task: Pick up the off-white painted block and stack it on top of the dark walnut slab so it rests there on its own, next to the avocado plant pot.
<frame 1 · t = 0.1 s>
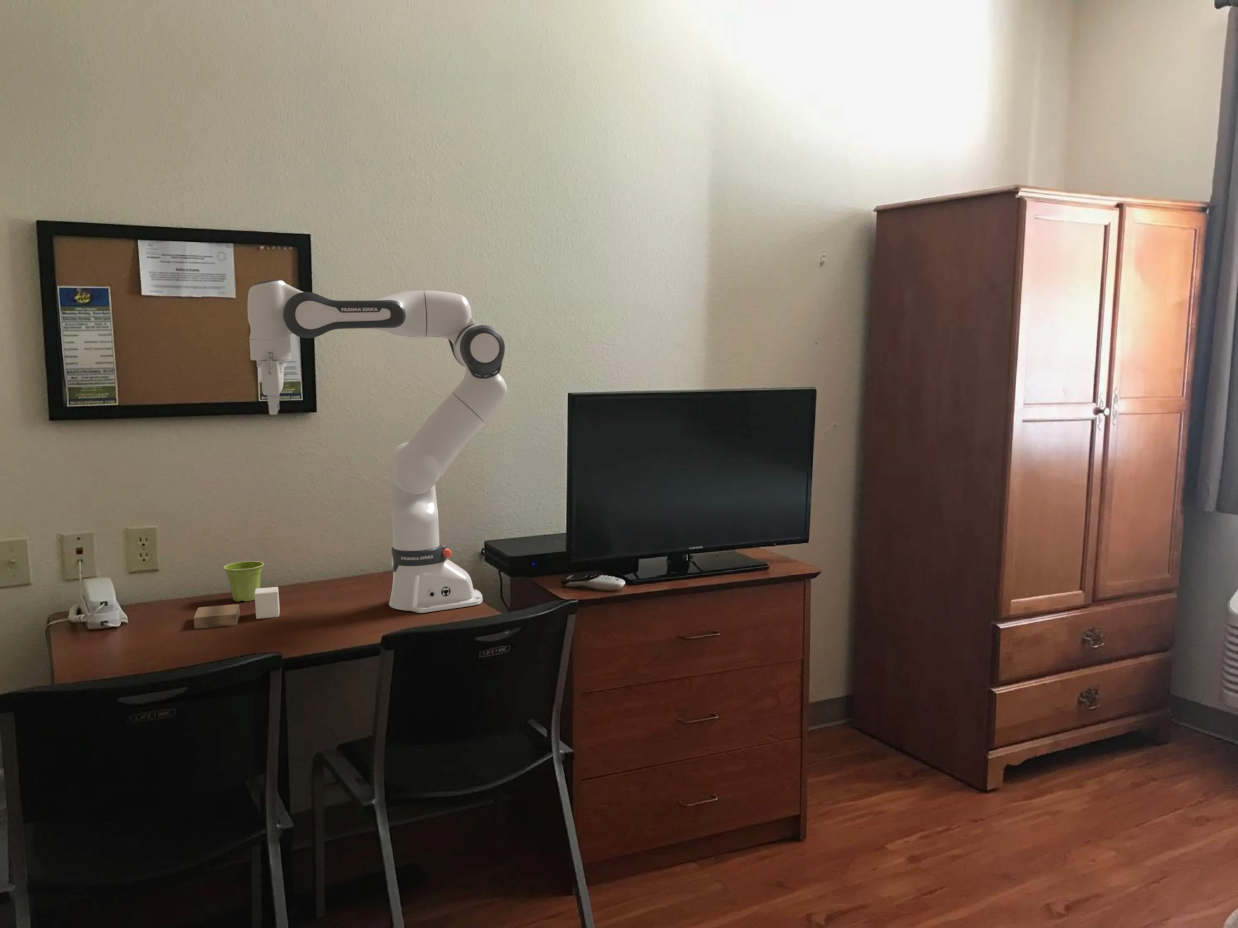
hand: (274, 412, 233), 48 cm above the table, tool pointing down, fingers open, 8 cm apart
white block: (268, 614, 241), on the table
walnut slab: (217, 623, 236), on the table
plant pot: (246, 599, 255), on the table
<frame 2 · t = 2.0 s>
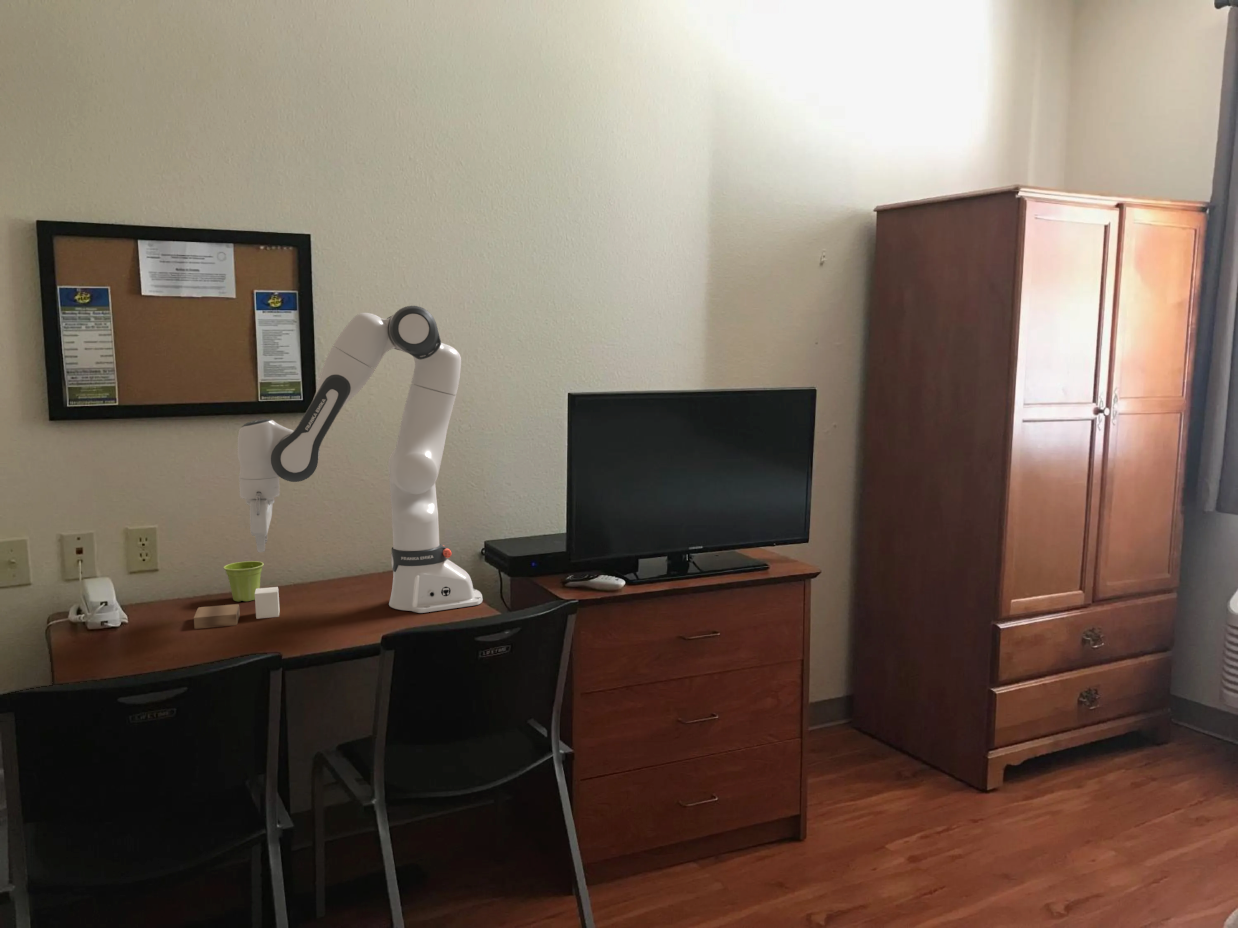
hand: (262, 547, 238), 16 cm above the table, tool pointing down, fingers open, 8 cm apart
nothing on the table moved.
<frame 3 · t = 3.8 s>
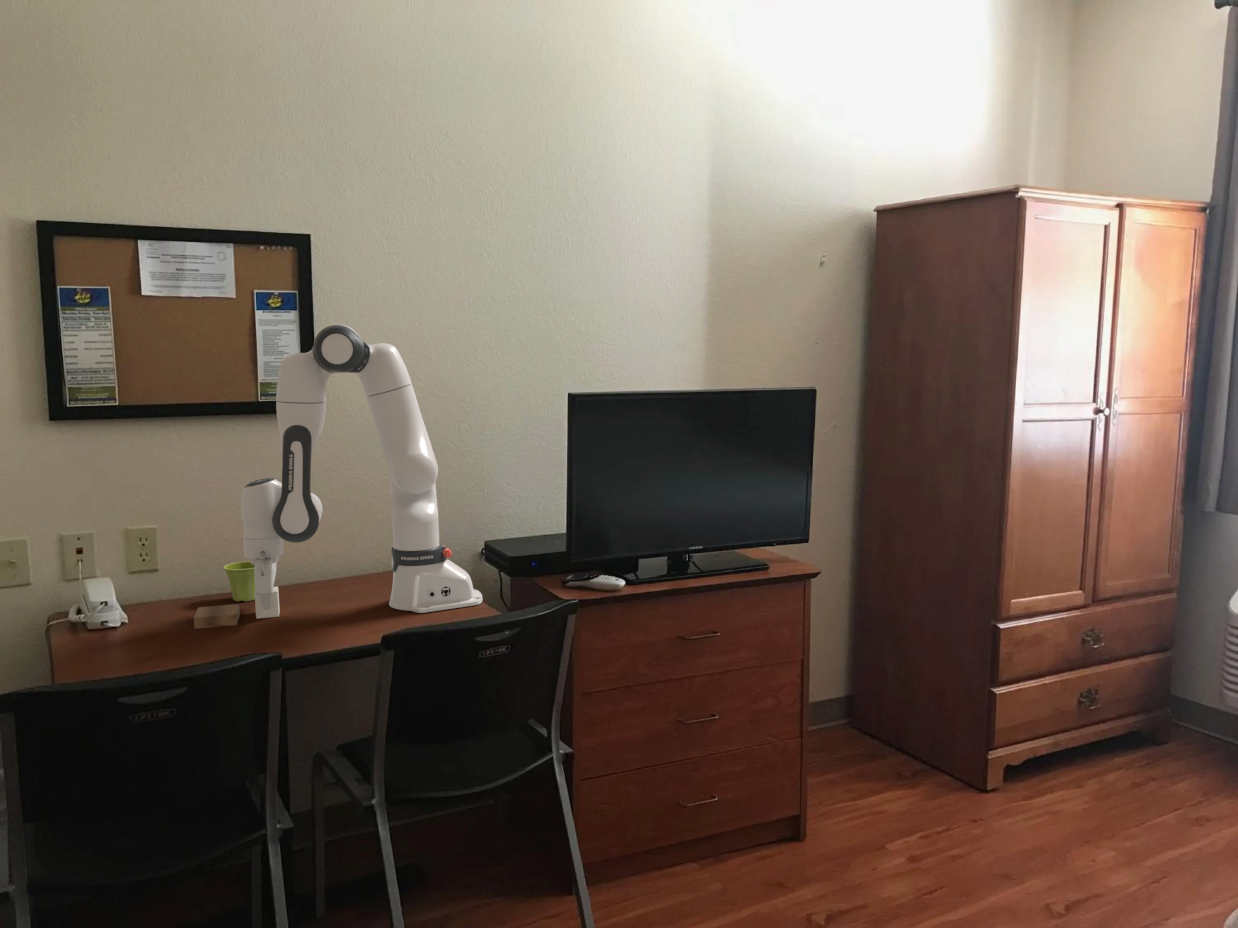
hand: (267, 605, 240), 2 cm above the table, tool pointing down, fingers closed on white block, 5 cm apart
white block: (268, 614, 241), on the table, touching gripper
everything else where it was.
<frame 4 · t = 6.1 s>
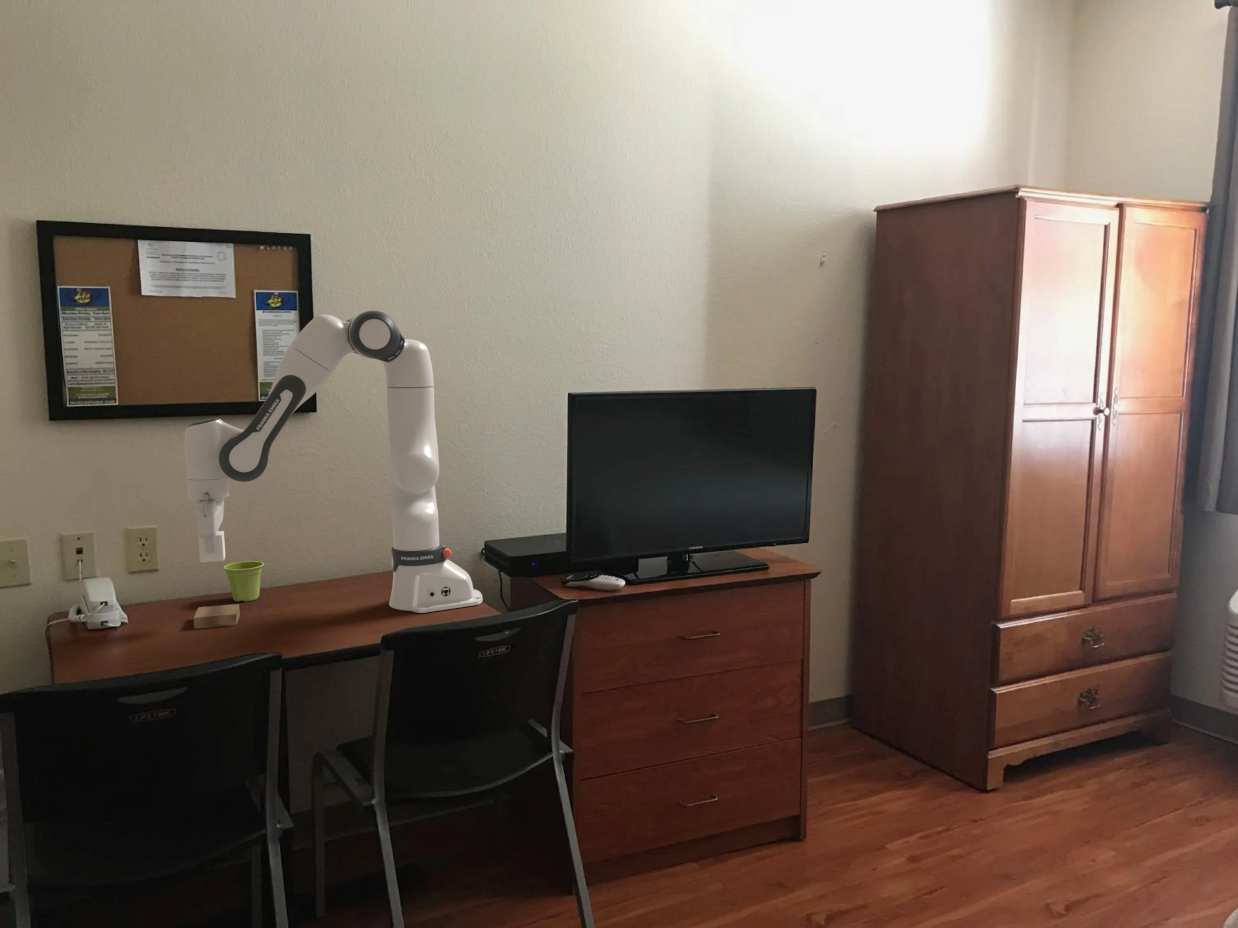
hand: (212, 549, 233), 17 cm above the table, tool pointing down, fingers closed on white block, 5 cm apart
white block: (213, 559, 234), point 15 cm above the table, touching gripper
everything else where it was.
when the fingers open (6 cm above the table, at t = 8.4 s): white block drops 1 cm, resting on walnut slab.
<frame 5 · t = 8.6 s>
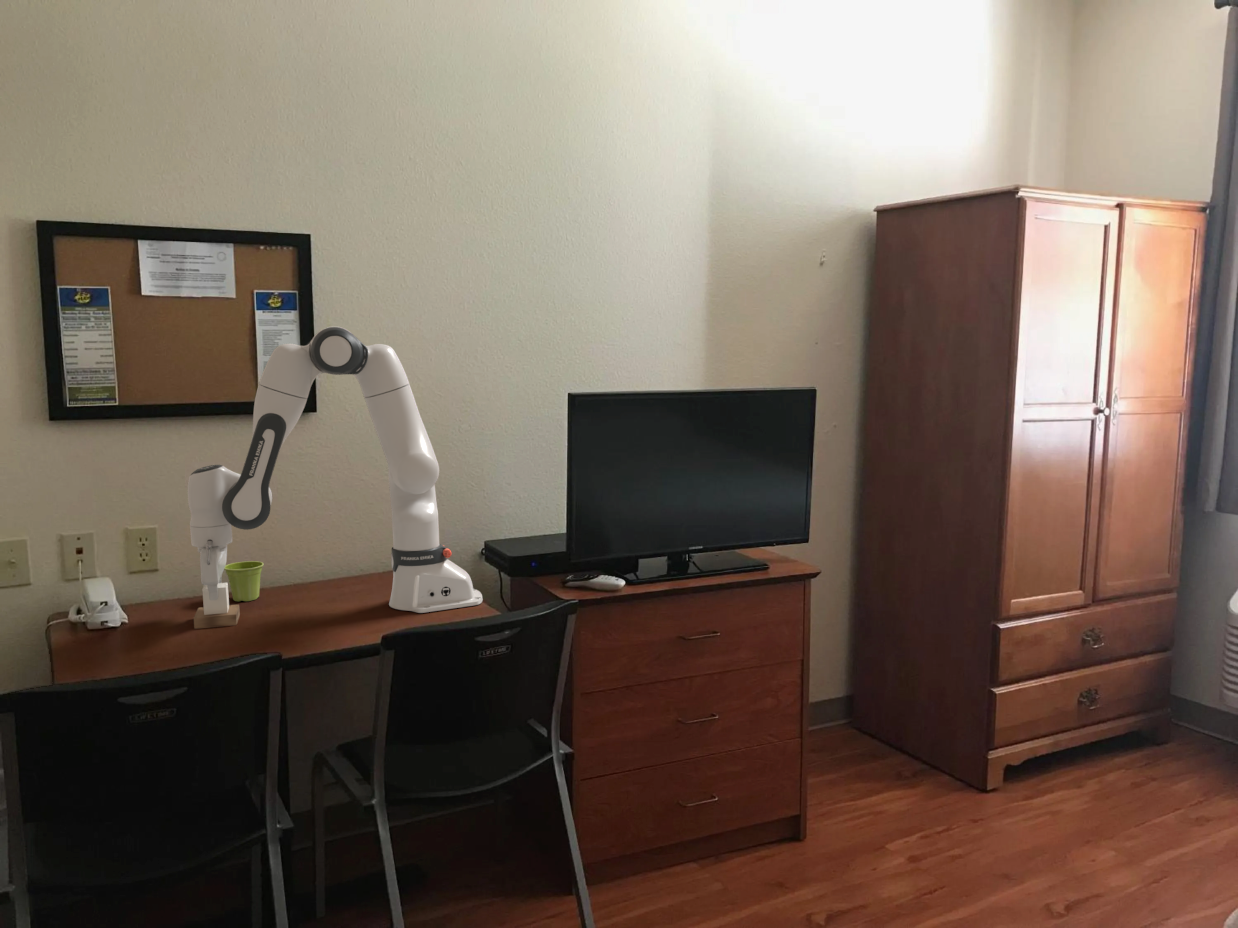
hand: (215, 594, 235), 6 cm above the table, tool pointing down, fingers open, 7 cm apart
white block: (216, 611, 235), point 2 cm above the table, touching walnut slab
walnut slab: (217, 623, 236), on the table, touching white block
everything else where it was.
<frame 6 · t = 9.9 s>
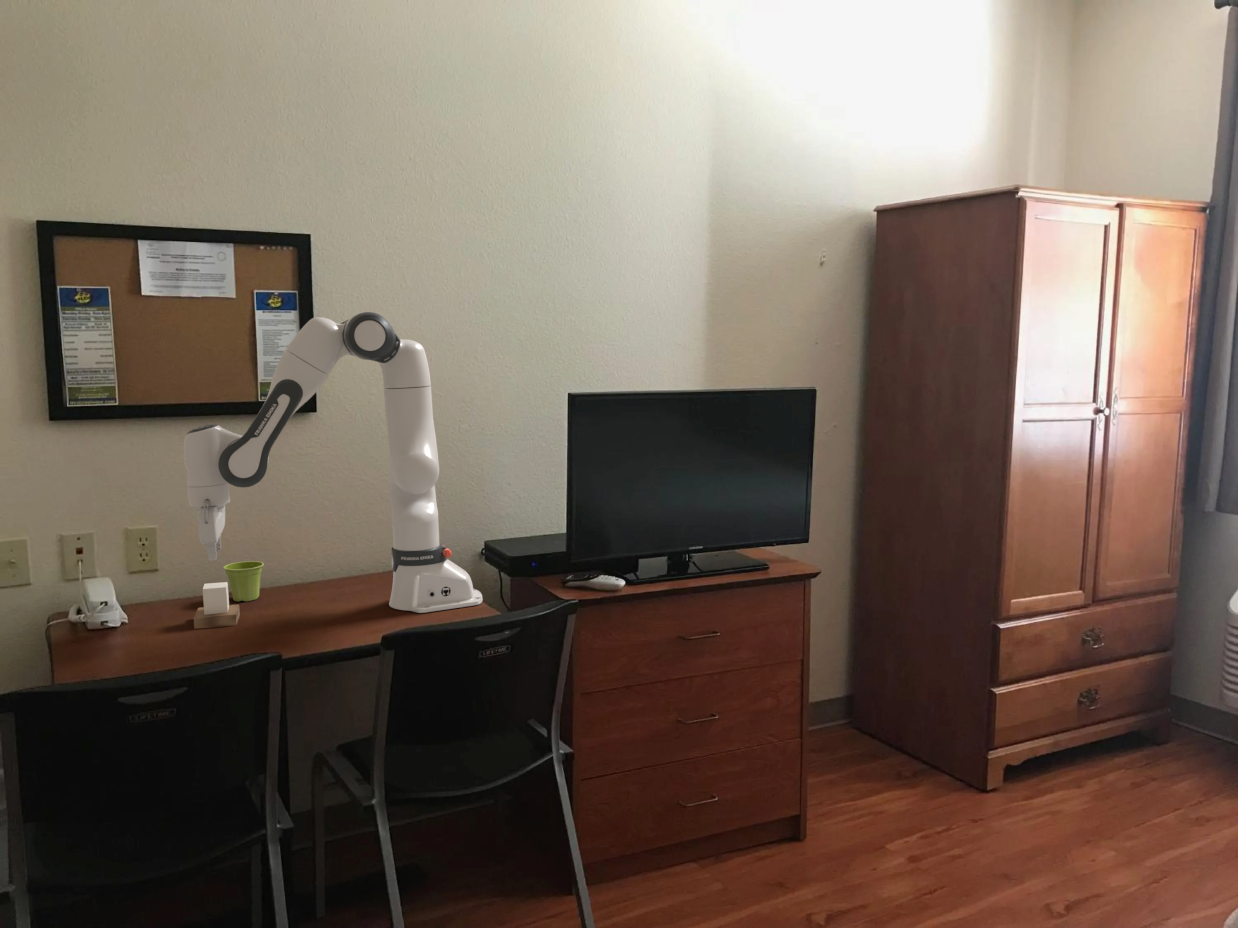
hand: (215, 555, 234), 15 cm above the table, tool pointing down, fingers open, 8 cm apart
nothing on the table moved.
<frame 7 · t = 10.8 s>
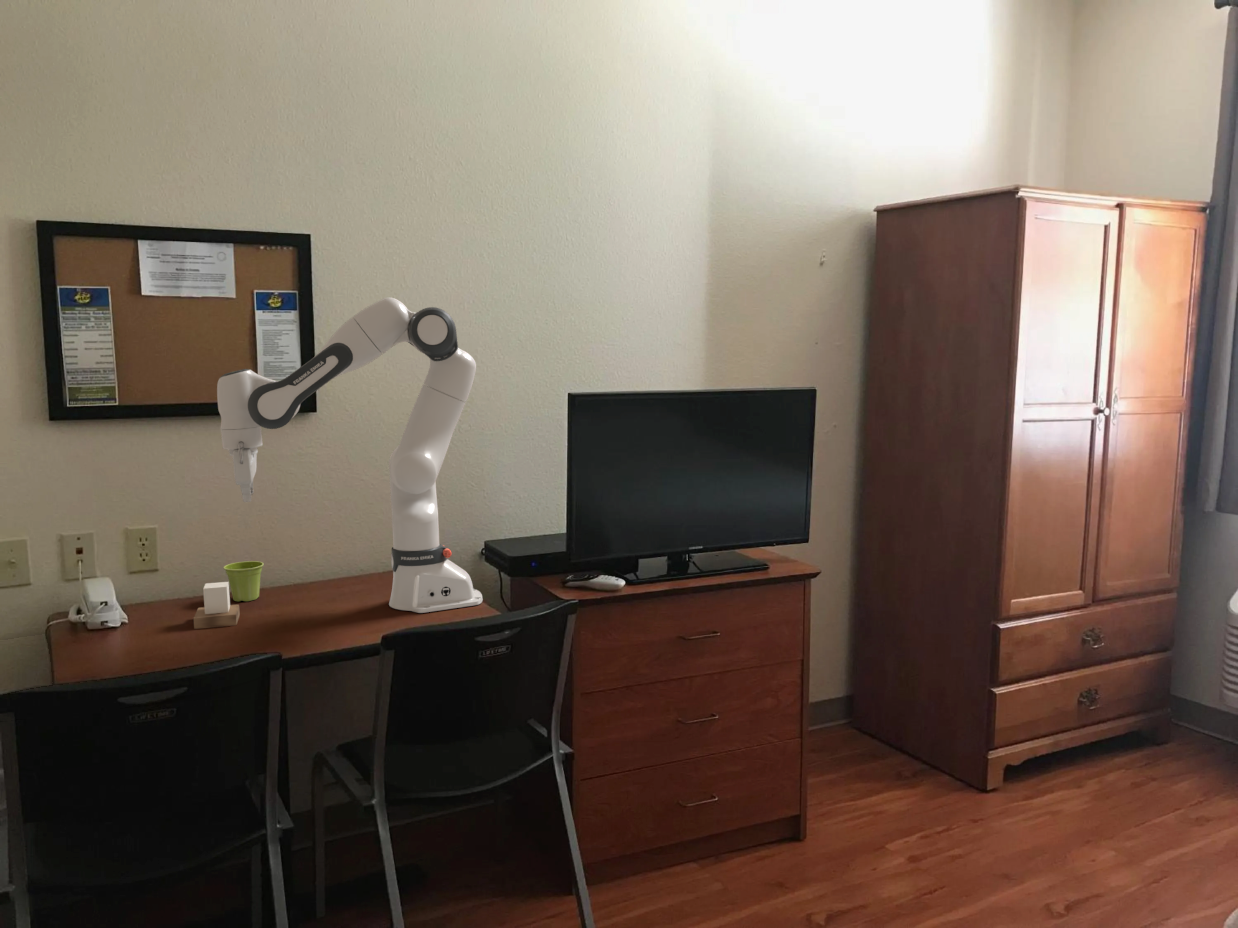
hand: (248, 498, 238), 28 cm above the table, tool pointing down, fingers open, 8 cm apart
nothing on the table moved.
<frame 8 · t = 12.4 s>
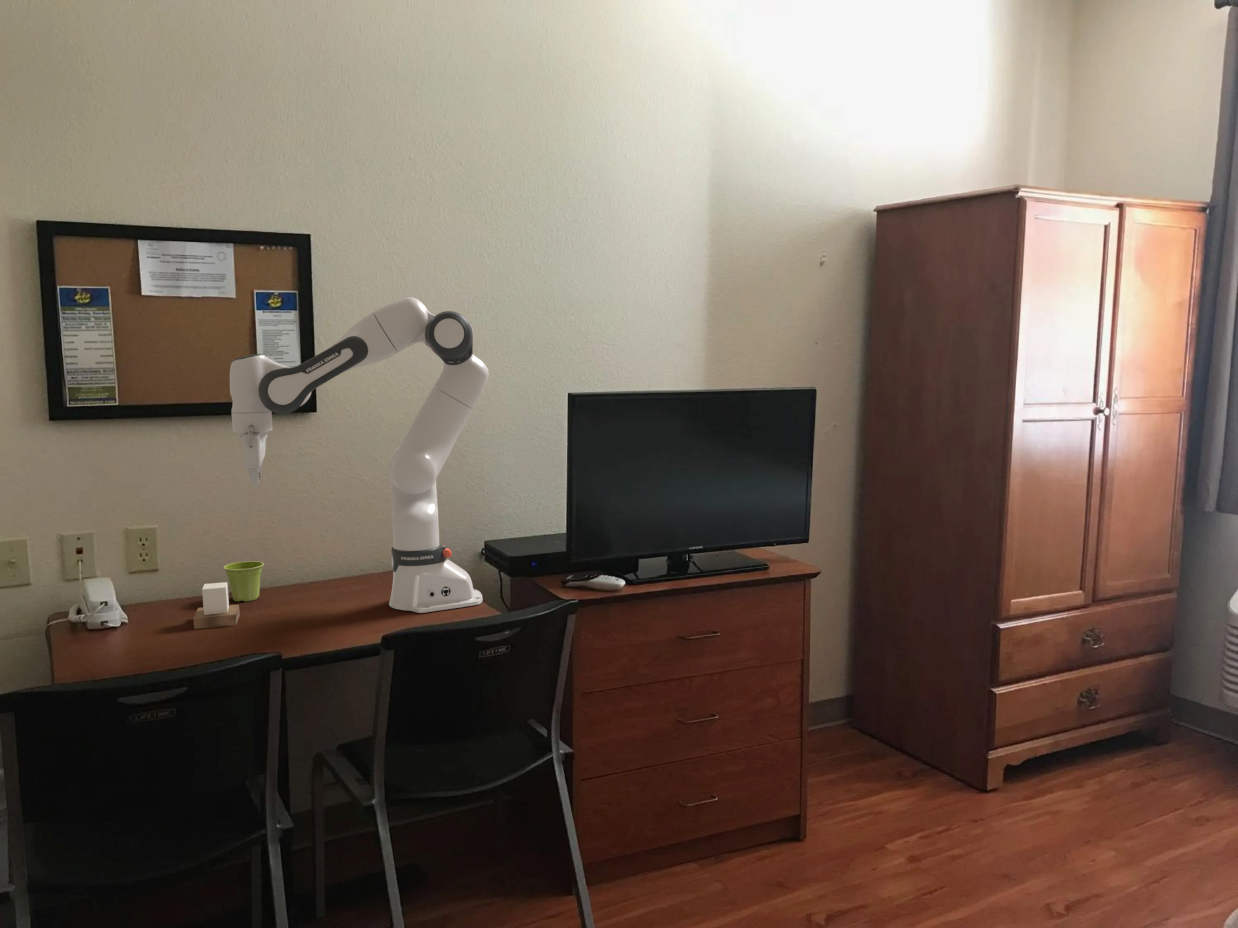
hand: (256, 482, 240), 31 cm above the table, tool pointing down, fingers open, 8 cm apart
white block: (216, 610, 235), point 3 cm above the table
walnut slab: (217, 623, 236), on the table
everything else where it was.
at the end: white block inside the target area on the walnut slab (0.0 cm from its centre), point 3.1 cm above the walnut slab's base; white block tilted 0°; the gripper is holding nothing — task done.
